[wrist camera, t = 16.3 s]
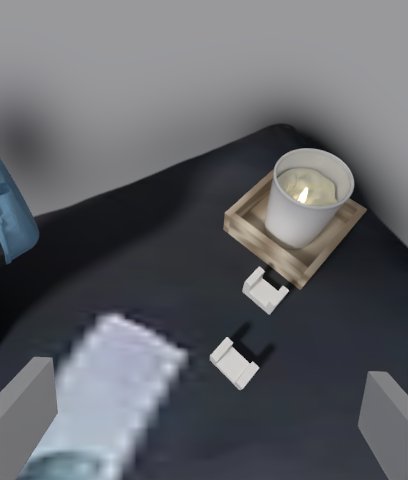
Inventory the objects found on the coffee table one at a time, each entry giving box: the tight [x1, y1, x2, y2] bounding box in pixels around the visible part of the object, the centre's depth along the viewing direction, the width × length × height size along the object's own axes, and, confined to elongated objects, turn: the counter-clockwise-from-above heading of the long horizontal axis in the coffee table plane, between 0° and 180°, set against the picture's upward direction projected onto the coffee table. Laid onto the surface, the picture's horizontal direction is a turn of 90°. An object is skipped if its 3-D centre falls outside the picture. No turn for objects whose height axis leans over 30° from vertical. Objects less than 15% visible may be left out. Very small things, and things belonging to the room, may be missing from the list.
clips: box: [210, 267, 289, 390], centre depth 37 cm, size 8×13×4 cm, turn 136°
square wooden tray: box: [224, 169, 367, 290], centre depth 45 cm, size 15×15×5 cm
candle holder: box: [264, 148, 354, 249], centre depth 41 cm, size 10×10×12 cm
